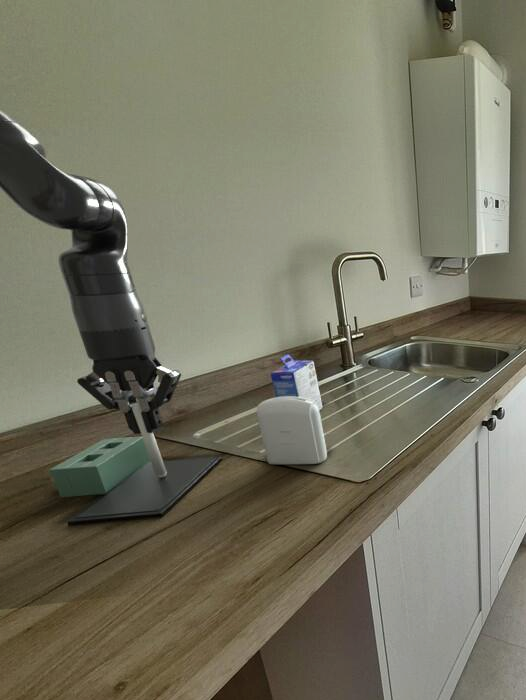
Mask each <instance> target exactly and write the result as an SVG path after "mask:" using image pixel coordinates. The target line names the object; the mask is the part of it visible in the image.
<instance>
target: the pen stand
mask: <svg viewBox="0 0 526 700" xmlns="http://www.w3.org/2000/svg"><path fill="white" fill-rule="evenodd" d="M149 462H151V460H150V457H149V455H148V452H147V449H146V446H145V443H144V441H143V438H142V435H141V436H130V437H127V436H126V437H113V438H104V439H101V440H100V441H98V442H96V443H94V444H93V445H91V446H89V447H87V448H85V449H84V450H82V451H80V452H78V453H77V454H75V455H73V456H71V457H69V458H68V459H66V460H64V461H62V462H61V463H59V464H57V465H55V466H53V467H52V468H49V472H50V475H51V477H52V480H53V482H54V484H55V487H56V489H57V492H58V494H59V496H60V498H70V497H71V498H72V497H82V496H94V495H95V496H96V495H97V496H98V495H104V494H106V493H107V492H109V491H110V490H111V489H113V488H114V487H115V486H117V485H118V484H120V483H121V482H122V481H124V480H125V479H126V478H128V477H129V476H131V475H132V474H133V473H135V472H136V471H137V470H139V469H140V468H142V467H143V466H144V465H146V464H147V463H149Z"/></svg>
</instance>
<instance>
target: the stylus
mask: <svg viewBox="0 0 526 700" xmlns="http://www.w3.org/2000/svg"><path fill="white" fill-rule="evenodd" d="M132 410H133V413H134V416H135V419H136V421H137V424H138V427H139V430H140V432H141V433H140V435H141V436H142V438H143V441H144V443H145V446H146V449H147V452H148V455H149V457H150V460H151V463H152V466H153V468H154V471H155V474H156V476H157V477H159V478H162V477H164V476H166V474H167V471H166V469H165V466H164V463H163V461H164V460H163V457H162V454H161V451H160V449H159V446H158V443H157V439H156V438H155V435H154V433H148V432H147V430H146V427H145V424H144V421H143V418H142V415H141V412H143V411H142V410H141V408H140V405H139V403H136V404H134V405H133V406H132Z"/></svg>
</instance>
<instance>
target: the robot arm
mask: <svg viewBox="0 0 526 700" xmlns="http://www.w3.org/2000/svg"><path fill="white" fill-rule="evenodd" d="M0 189H1V191H2V192H4V194H5V195H6V196H7V197H8V198H9V199H10V200H11V201H12V202H13V203H14V204H15V205H16V206H17V207H19V208H20V209H21V210H22V211H24V212H25V213H26V214H28V215H29V216H30V217H32V218H33V219H36V220H37V221H39V222H41V223H43V224H44V225H47V226H50V227H53V228H56V229H60V230H67V231H70V233H71V248H70V249H67V250H65V251H63V252H61V253H60V254H59V255H58V259H57V260H58V266H59V270H60V272H61V275H62V279H63V281H64V284H65V287H66V290H67V292H68V295H69V300H70V305H71V306H70V307H71V311H72V315H73V318H74V320H75V323H76V326H77V329H78V333H79V335H80V338H81V340H82V344H83V346H84V349H85V351H86V356H87V357H88V359H90V360H92V362H93V363H92V367H91V369H92V371H91V372H90V373H89V374H87V375H85V376H82V377H79V378H78V379H77V384H78V385H79V386H80V387H81V388H83V389H84V390H85V391H86V392H87V393H88V394H90V396H92V397H93V398H94V399H95V400H97V401H98V402H99V403H100V404H101V405H102V406H103V407H105V408H106V409H107V410H109V411H112V410H116V411H117V410H118V411H120V412H121V413H123V415H124V419H125V421H126V423H127V427H128V429H129V430H130V431H131V432H132V433H133V434H135V435H139V434H140V435H141V432H140V430H139V427H138V424H137V421H136V419H135V416H134V413H133V410H132V406H133V405H134V404H136V403H139V405H140V408H141V410H142V411H143V412H141V415H142V418H143V421H144V424H145V427H146V430H147V432H148V433H153V434H154V433H156V432H157V431H159V430H161V428H162V426H163V425H164V422H163V418H162V415H161V412H160V408H161V407H162V406H163V405H165V404H167V403H169V402H170V401H171V400H172V397H173V395H174V393H175V391H176V388H177V386H178V384H179V381H180V379H181V377H182V372H181V371H180V370H178V369H174V370H170V369H168V368H166V367H163V365H162V363H161V362H160V360H159V359H158V358H157V356H156V346H155V341H154V339H153V336H152V332H151V329H150V326H149V325H150V324H149V323H148V319H147V315H146V312H145V309H144V306H143V304H142V300H141V299H140V297H139V295H138V292H137V289H136V286H135V282H134V278H133V275H132V272H131V269H130V267H129V264H128V252H129V251H128V249H129V244H128V243H129V241H128V237H129V236H128V222H127V221H128V220H127V216H126V211H125V209H124V206H123V204H122V202H121V200H120V199H119V197H118V195H117V194H116V193H115V192H114V191H113V189H111V188H110V187H109V186H108V185H106V184H105V183H103V182H101V181H99V180H98V179H94V178H91V177H87V176H82V175H77V174H74V173H73V174H72V173H68V172H64V171H62V170H61V169H60V168H58V167H57V166H55V165H54V164H52V162H50V161H49V160H48V159H47V152H46V150H45V147H44V145H43V143H42V142H40V140H39V139H38V138H36V136H34V135H33V133H31V132H30V131H29V130H27V129H26V128H25V127H24V126H23V125H22V124H20V123H19V122H18V121H16V120H15V119H14V118H13V117H12V116H10V115H9V114H8V113H6V112H5V111H4V110H2V108H0ZM156 380H157V382H158V383H159V385H158V387H157V383H156Z"/></svg>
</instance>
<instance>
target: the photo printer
mask: <svg viewBox="0 0 526 700" xmlns="http://www.w3.org/2000/svg"><path fill="white" fill-rule="evenodd" d="M320 411H321V410H319V407H318V404H317V403H316V402H315V401H313V400H310V399H307V398H302V397H293V396H284V397H276V396H275V397H271V398H269V399H265V400H263V401H262V402H260V403H258V405H257V408H256V418H257V423H258V427H259V431H260V436H261V440H262V445H263V449H264V452H265V458H266V460H267V463H268V464H270V465H315V464H316V465H317V464H321V463H323V462H325V460H327V458H328V449H327V444H326V440H325V433H324V429H323V423H322V417H321V412H320Z"/></svg>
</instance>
